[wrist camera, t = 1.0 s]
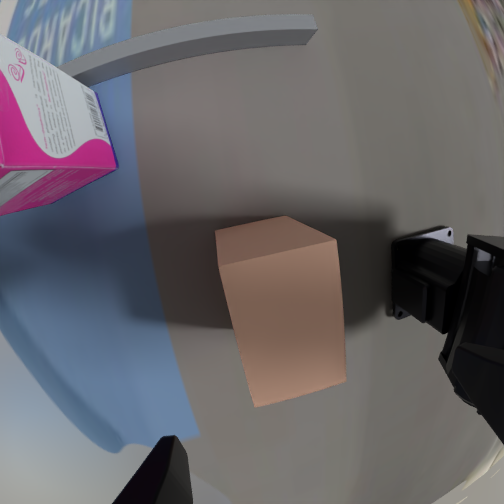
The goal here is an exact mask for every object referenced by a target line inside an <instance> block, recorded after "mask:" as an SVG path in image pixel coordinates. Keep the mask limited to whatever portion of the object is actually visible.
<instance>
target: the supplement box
mask: <svg viewBox="0 0 504 504" xmlns="http://www.w3.org/2000/svg"><path fill="white" fill-rule="evenodd" d="M118 168H119V165H118V161H117V158H116V155H115V151H114V148H113V145H112V142H111V138H110V135H109V132H108V129H107V125H106V122H105V118H104V115H103V112H102V108H101V105H100V102H99V98H98V94H97V92H94V91H93V90H91V89H90V88H88V87H86V86H85V85H83V84H82V83H80V82H79V81H77V80H75V79H74V78H72V77H71V76H69V75H68V74H66V73H64V72H63V71H61V70H60V69H58V68H56V67H55V66H53V65H52V64H50V63H48V62H47V61H45V60H44V59H42V58H40V57H39V56H37V55H36V54H34V53H32V52H30V51H29V50H27V49H25V48H24V47H22V46H20V45H18V44H17V43H15V42H14V41H12V40H10V39H8V38H7V37H5V36H3V35H1V34H0V216H1V215H5V214H9V213H13V212H17V211H21V210H26V209H30V208H34V207H38V206H43V205H47V204H52V203H54V202H56V201H57V200H59V199H61V198H63V197H65V196H66V195H68V194H70V193H72V192H74V191H76V190H78V189H80V188H82V187H83V186H85V185H87V184H89V183H91V182H93V181H95V180H97V179H99V178H101V177H103V176H105V175H107V174H109V173H111V172H113V171H115V170H117V169H118Z"/></svg>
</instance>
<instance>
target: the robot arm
mask: <svg viewBox="0 0 504 504" xmlns="http://www.w3.org/2000/svg"><path fill="white" fill-rule="evenodd" d="M466 243H467V244H468V245H467V249H465V248H463V247H460V246H457V245H454V244H453V229H452V228H451V227H443V228H440V229H436V230H432V231H428V232H425V233H421V234H417V235H413V236H409V237H406V238H402V239H398V240H395V241H394V242H393V243H392V247H391V250H392V301H393V316H394V317H395V318H396V319H398V320H400V319H402V318H405V317H408V316H410V315H412V316H413V317H415V318H416V319H417V320H419V321H420V322H422V323H428V324H429V325H431V326H432V327H433V328H435V329H436V330H437V331H439V332H440V333H442V334H446V333H448V334H447V338H446V341H445V344H444V347H443V350H442V351H441V352H440V355H439V358H438V360H439V361H440V363H441V365H442V367H443V369H444V370H445V372H446V374H447V376H448V378H449V380H450V381H451V383H452V385H453V387H454V392H455V393H456V395H458V396H459V397H460V398H461V399H462V400H463V401H464V402H465V403H467V404H468V405H470V406H473V407H475V408H477V413H478V414H479V415H482V416H483V417H484V419H485V420H486V421H487V423H488V424H489V425H490V427H491V428H492V429H493V431H494V432H495V433H496V435H497V436H498V438H499V439H500V440H501V442H502V443H503V445H504V237H498V236H484V235H469V234H468V235H467V242H466ZM398 245H399V249H397V246H398ZM399 312H400V313H399ZM398 313H399V314H398ZM112 504H193V497H192V489H191V482H190V473H189V464H188V456H187V453H186V451H185V449H184V447H183V446H182V444H181V442H180V441H179V439H178V437H177V436H175V435H171V436H163V437H161V438H160V440H159V441H158V443H157V444H156V445H155V447H154V448H153V449H152V451H151V452H150V454H149V455H148V456H147V458H146V459H145V461H144V462H143V463H142V465H141V466H140V467H139V469H138V470H137V471H136V473H135V474H134V476H133V477H132V478H131V479H130V481H129V482H128V483H127V485H126V486H125V487H124V489H123V490H122V491H121V493H120V494H119V495H118V496H117V498H116V499H115V500H114V502H113V503H112Z"/></svg>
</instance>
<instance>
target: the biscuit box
mask: <svg viewBox="0 0 504 504" xmlns="http://www.w3.org/2000/svg"><path fill="white" fill-rule="evenodd" d="M215 236H216V247H217V258H218V267H219V271H220V276H221V280H222V284H223V288H224V292H225V296H226V301H227V305H228V309H229V313H230V317H231V321H232V325H233V329H234V332H235V336H236V340H237V344H238V348H239V352H240V356H241V359H242V363H243V367H244V371H245V374H246V378H247V382H248V385H249V389H250V392H251V396H252V400H253V403H254V407H259V406H264V405H268V404H272V403H276V402H280V401H284V400H288V399H291V398H295V397H298V396H302V395H305V394H309V393H312V392H316V391H319V390H322V389H325V388H328V387H331V386H334V385H337V384H340V383H343V382H346V352H345V331H344V314H343V301H342V288H341V277H340V267H339V258H338V249H337V240H336V239H334V238H332V237H330V236H328V235H326V234H324V233H322V232H320V231H318V230H315V229H313V228H311V227H309V226H307V225H305V224H303V223H301V222H299V221H296V220H294V219H292V218H290V217H288V216H286V215H285V216H280V217H276V218H271V219H266V220H261V221H256V222H252V223H247V224H242V225H238V226H233V227H228V228H224V229H219V230H215Z"/></svg>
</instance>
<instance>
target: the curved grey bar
mask: <svg viewBox="0 0 504 504" xmlns="http://www.w3.org/2000/svg"><path fill="white" fill-rule="evenodd" d="M317 30H318V28H317V25H316V22H315V19H314V16H313V15H309V14H279V15H258V16H245V17H235V18H226V19H218V20H211V21H205V22H199V23H193V24H188V25H183V26H178V27H173V28H169V29H164V30H160V31H156V32H152V33H149V34H145V35H141V36H138V37H134V38H131V39H128V40H125V41H122V42H119V43H116V44H113V45H110V46H107V47H104V48H101V49H99V50H96V51H93V52H91V53H88V54H86V55H83V56H81V57H78V58H76V59H74V60H71V61H69V62H67V63H65V64H63V65H60V66H58V67H56V68H58V69H60V70H61V71H63V72H64V73H66V74H68V75H69V76H71V77H72V78H74V79H75V80H77V81H79V82H80V83H82V84H83V85H85V86H86V87H90V86H92V85H95V84H97V83H100V82H103V81H106V80H109V79H111V78H114V77H117V76H120V75H124V74H127V73H130V72H133V71H137V70H140V69H144V68H147V67H151V66H155V65H158V64H162V63H166V62H171V61H175V60H179V59H184V58H189V57H194V56H199V55H205V54H210V53H216V52H223V51H230V50H238V49H246V48H256V47H268V46H283V45H306V44H307V43H308V41H309V40H310V39H311V37H312V36H313V35H314V34H315V32H316V31H317Z"/></svg>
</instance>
